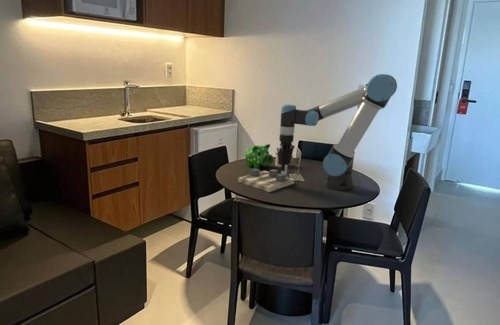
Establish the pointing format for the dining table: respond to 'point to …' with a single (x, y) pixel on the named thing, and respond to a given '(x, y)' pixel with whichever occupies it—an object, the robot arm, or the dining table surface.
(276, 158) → the teacup with lid
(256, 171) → the far tab
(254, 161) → the piggy bank
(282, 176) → the near tab
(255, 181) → the switch board
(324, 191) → the dining table surface
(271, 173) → the middle tab
